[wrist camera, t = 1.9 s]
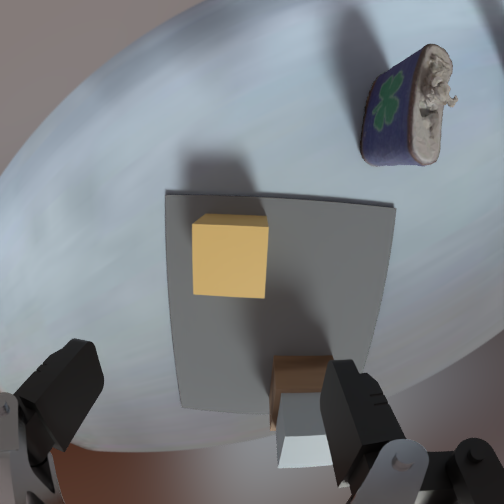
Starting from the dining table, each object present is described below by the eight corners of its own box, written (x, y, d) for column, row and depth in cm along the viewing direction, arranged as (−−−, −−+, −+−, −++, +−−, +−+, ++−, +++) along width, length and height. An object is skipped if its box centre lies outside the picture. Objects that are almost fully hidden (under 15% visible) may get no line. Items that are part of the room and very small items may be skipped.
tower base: (273, 355, 27) (275, 388, 22) (332, 355, 27) (344, 387, 22) (269, 397, 28) (270, 430, 24) (322, 396, 28) (330, 428, 24)
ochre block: (205, 213, 23) (192, 224, 18) (266, 216, 23) (268, 227, 18) (205, 271, 25) (193, 294, 20) (263, 274, 25) (264, 298, 20)
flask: (381, 170, 22) (455, 172, 12) (351, 158, 22) (415, 150, 12) (400, 81, 20) (468, 44, 10) (373, 68, 20) (432, 20, 9)
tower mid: (281, 392, 22) (285, 436, 17) (337, 391, 22) (350, 432, 17) (275, 427, 23) (277, 468, 19) (326, 426, 23) (334, 464, 19)
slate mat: (166, 194, 23) (165, 195, 23) (394, 207, 23) (396, 208, 23) (182, 405, 30) (182, 407, 29) (348, 409, 29) (348, 411, 29)
